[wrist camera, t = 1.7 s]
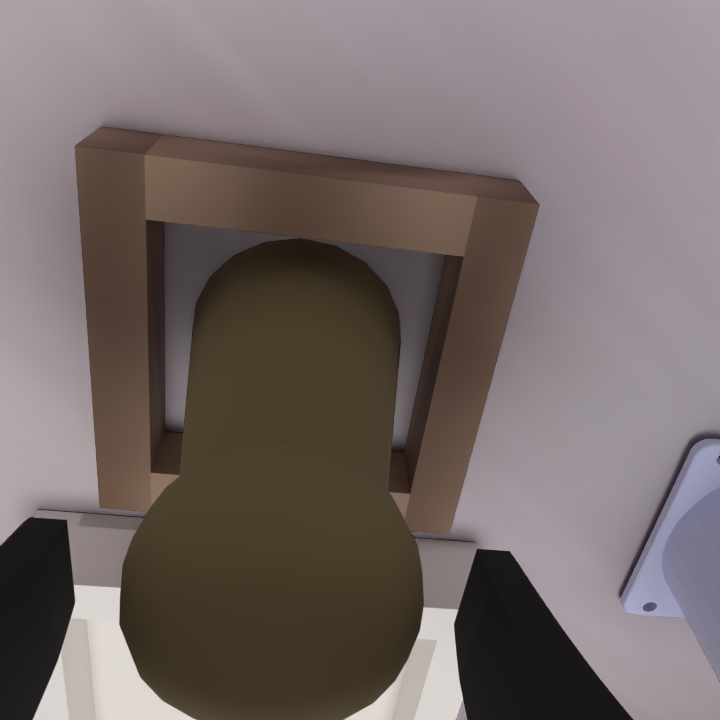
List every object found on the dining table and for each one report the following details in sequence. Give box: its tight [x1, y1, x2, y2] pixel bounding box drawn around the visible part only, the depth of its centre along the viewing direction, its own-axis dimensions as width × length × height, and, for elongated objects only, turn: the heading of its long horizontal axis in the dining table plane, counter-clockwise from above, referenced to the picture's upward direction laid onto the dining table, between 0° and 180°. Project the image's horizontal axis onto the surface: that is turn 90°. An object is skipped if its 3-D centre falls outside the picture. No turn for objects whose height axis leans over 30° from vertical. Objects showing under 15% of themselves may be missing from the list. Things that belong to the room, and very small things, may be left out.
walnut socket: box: [75, 127, 539, 534], centre depth 19 cm, size 11×11×2 cm
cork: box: [119, 239, 424, 720], centre depth 15 cm, size 6×6×11 cm
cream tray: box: [33, 510, 477, 720], centre depth 26 cm, size 15×13×3 cm
